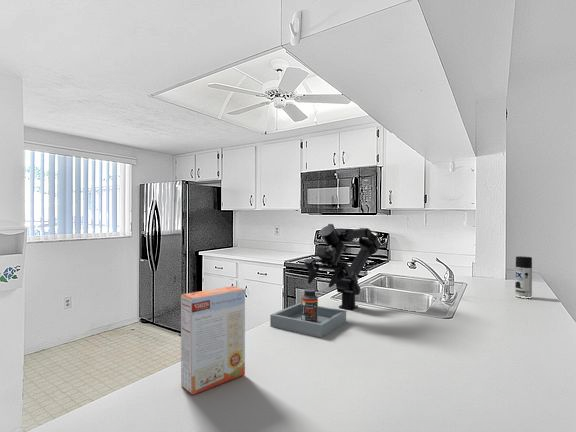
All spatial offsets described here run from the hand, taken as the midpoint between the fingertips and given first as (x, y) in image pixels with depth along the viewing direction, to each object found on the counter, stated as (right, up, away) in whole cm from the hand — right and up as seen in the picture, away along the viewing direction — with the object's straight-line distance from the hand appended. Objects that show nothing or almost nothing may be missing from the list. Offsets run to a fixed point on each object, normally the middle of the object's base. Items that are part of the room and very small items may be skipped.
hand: (318, 285), depth 125 cm
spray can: (+104, -14, +39) cm, 112 cm away
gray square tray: (-4, -13, -5) cm, 14 cm away
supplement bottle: (-4, -12, -5) cm, 14 cm away
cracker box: (-29, -13, -47) cm, 57 cm away
